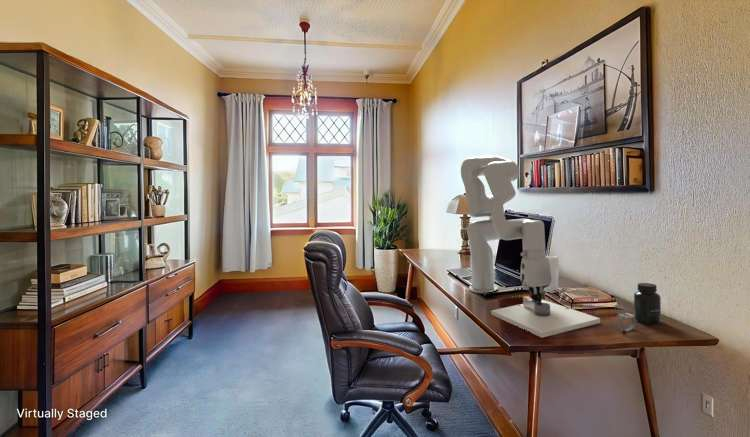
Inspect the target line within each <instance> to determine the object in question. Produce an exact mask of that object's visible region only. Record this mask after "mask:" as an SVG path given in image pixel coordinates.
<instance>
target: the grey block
mask: <svg viewBox="0 0 750 437" xmlns="http://www.w3.org/2000/svg"><path fill="white" fill-rule="evenodd" d="M522 304H523V305H524V306H526V307H528V308H530V309H531V310H533V311H534V313H535V314H536V315H540V316H548V315H550V305H549V304H547V303H540V302H538V301H536V300H534V299H532V298H531V296H529V295H527V296H522Z"/></svg>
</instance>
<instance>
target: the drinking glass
mask: <svg viewBox="0 0 750 437" xmlns="http://www.w3.org/2000/svg"><path fill="white" fill-rule="evenodd" d="M546 257H548V260H549V263H550V268H551V276H552V282H551V284H550V285H549V286H548V287H545V288H544V290H543V292H545V291H553V290H557V289H558V290H559V268H560V265H559V263H560V262H559V257H558V256H556V255H546Z"/></svg>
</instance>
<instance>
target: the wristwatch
mask: <svg viewBox="0 0 750 437" xmlns="http://www.w3.org/2000/svg"><path fill="white" fill-rule="evenodd" d="M624 319H625V320H628V319H631V324H630V325H629V327H628V328H625V329H624V328H623V327H622V323H623V321H624ZM616 322H617V323H616V325H617V328H618V329H619V330H621V331H622V332H626V333H628V332H631V331H633V330H634V328H636V326H637V321H636V318H635V315H634V314H632V313H629V312H623V313H620V314H618V319H617V321H616Z"/></svg>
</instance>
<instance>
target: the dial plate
mask: <svg viewBox="0 0 750 437" xmlns="http://www.w3.org/2000/svg"><path fill="white" fill-rule="evenodd" d="M541 303H547V304H549V305H550V315H548V316H540V315H536V314H535V313H534V311H533V310H531V309H530V308H528V307H526V306H524V305H523V303H521V304H519V303H518V304H515V305H511V306H507V307H501V308H497V309H493V310H491V311H490V312H491V315H492V316H494V317H496V318H498V319H500V320H502V321H505V322H507V323H509V324H511V325H513V326H516V327H517V326H518V327H517V328H520V329H522V330H524V329H525V331H526V330H527V331H526V332H528V331H529V333H530V332H531V333H530V334H533V335H535V336H537V337H539V338H542V339H543V338H546V337H549V336H551V337H552V336H554V335H559V334H563V333H566V332H570V331H574V330H578V329H582V328H586V327H589V326H594V325H597V324H601V318H600V317H597V316H594V315H591V314H589V313H585V312H583V311H578V310H576V309H573V308H570V307H567V306H564V305H560V304H558V303H554V302H551V301H549V300H545V299H541Z"/></svg>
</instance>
